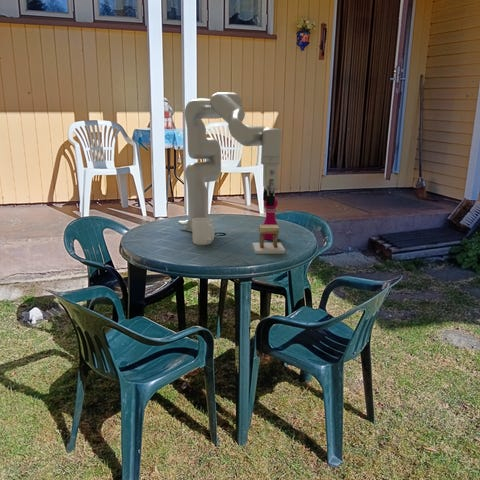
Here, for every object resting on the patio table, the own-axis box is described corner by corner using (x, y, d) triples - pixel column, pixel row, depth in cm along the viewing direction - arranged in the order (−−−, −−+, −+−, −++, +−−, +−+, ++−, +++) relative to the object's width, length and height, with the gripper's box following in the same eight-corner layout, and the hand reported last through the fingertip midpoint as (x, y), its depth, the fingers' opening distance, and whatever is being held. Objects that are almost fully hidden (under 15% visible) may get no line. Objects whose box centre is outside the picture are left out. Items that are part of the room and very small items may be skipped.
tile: (255, 253, 197) (255, 250, 196) (252, 245, 208) (252, 242, 208) (285, 253, 198) (285, 250, 197) (280, 245, 209) (280, 242, 209)
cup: (203, 239, 218) (203, 216, 215) (221, 244, 209) (221, 221, 206) (188, 242, 212) (188, 219, 209) (206, 248, 204) (206, 224, 201)
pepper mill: (276, 240, 216) (278, 195, 211) (260, 239, 218) (261, 194, 212) (278, 236, 223) (280, 192, 218) (263, 235, 224) (264, 192, 219)
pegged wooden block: (278, 247, 201) (278, 227, 198) (259, 248, 200) (260, 227, 198) (276, 244, 206) (277, 224, 203) (258, 244, 205) (259, 224, 203)
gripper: (283, 163, 185) (281, 208, 190) (276, 157, 202) (274, 198, 207) (263, 163, 185) (261, 207, 190) (258, 157, 201) (257, 198, 206)
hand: (268, 203), depth 198 cm, fingers open, 9 cm apart
